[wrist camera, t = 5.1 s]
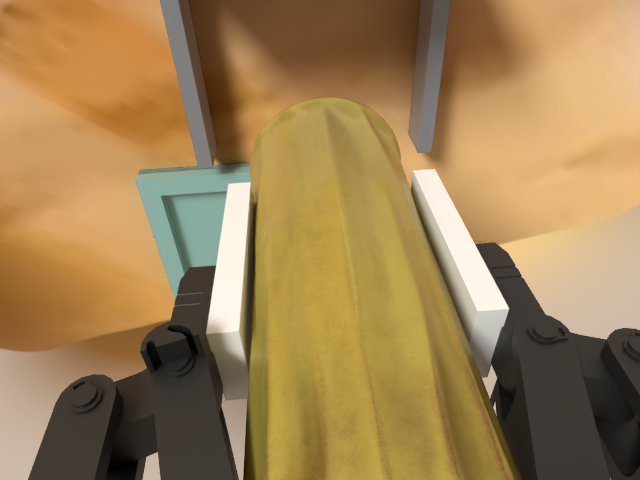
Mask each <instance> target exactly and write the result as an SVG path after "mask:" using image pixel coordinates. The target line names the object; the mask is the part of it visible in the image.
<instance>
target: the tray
mask: <svg viewBox="0 0 640 480" xmlns="http://www.w3.org/2000/svg"><path fill="white" fill-rule="evenodd" d="M135 181H136V184H137V187H138V190H139V193H140V196H141V199H142V202H143V205H144V208H145V211H146V214H147V217H148V220H149V223H150V226H151V229H152V232H153V235H154V238H155V241H156V244H157V247H158V250H159V253H160V256H161V259H162V262H163V265H164V268H165V271H166V274H167V277H168V280H169V283H170V286H171V289H172V292H173V295H174V298H175V300H176V296H177V291H178V287H179V283H180V279H181V278H182V277H183V276H184V274H185V273H186V272H187V270H188V269H189V268H190V267H202V266H215V265H216V264H217V257H218V251H219V244H220V237H221V230H222V224H223V217H224V210H225V204H226V197H227V190H228V184H232V183H246V182H251V177H250V163H238V164H223V165H213V167H205V168H198V166H194V167H179V168H164V169H150V170H140V171H139V173H138V175H137V178H136V180H135ZM251 188H252V182H251Z"/></svg>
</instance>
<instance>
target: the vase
mask: <svg viewBox="0 0 640 480" xmlns="http://www.w3.org/2000/svg"><path fill="white" fill-rule="evenodd" d="M250 177H251V182H252V194H253V201H254V219H253V305H252V339H251V352H250V367H249V384H248V400H247V418H246V438H245V458H244V476H243V480H523V479H522V476H521V474H520V472H519V469H518V467H517V464H516V462H515V460H514V457H513V455H512V453H511V450H510V448H509V445H508V443H507V441H506V438H505V436H504V433H503V431H502V429H501V426H500V424H499V421H498V419H497V416H496V414H495V411H494V409H493V406H492V404H491V401H490V399H489V396H488V393H487V391H486V388H485V385H484V383H483V380H482V377H481V375H480V372H479V369H478V367H477V364H476V361H475V358H474V356H473V353H472V350H471V348H470V345H469V342H468V340H467V337H466V335H465V332H464V330H463V327H462V324H461V322H460V319H459V316H458V314H457V311H456V308H455V306H454V303H453V300H452V298H451V295H450V293H449V290H448V287H447V285H446V282H445V280H444V277H443V275H442V272H441V269H440V267H439V264H438V262H437V259H436V257H435V255H434V252H433V250H432V248H431V245H430V243H429V240H428V238H427V235H426V232H425V230H424V227H423V224H422V221H421V218H420V215H419V212H418V209H417V206H416V204H415V201H414V198H413V196H412V193H411V190H410V187H409V184H408V181H407V178H406V175H405V173H404V170H403V167H402V164H401V154H400V149H399V146H398V142H397V140H396V137H395V135H394V133H393V131H392V129H391V128H390V127H389V125H388V124H387V123H386V122H385V120H384V119H383V118H382V117H380V116H379V115H378V114H377V113H376V112H374V111H373V110H372V109H370V108H368V107H367V106H365V105H363V104H360V103H358V102H355V101H352V100H347V99H343V98H335V97H321V98H314V99H310V100H306V101H303V102H300V103H298V104H295V105H293V106H291V107H288V108H286V109H285V110H283V111H281V112H280V113H278V114H277V115H276V116H275V117H274V118H273V119H271V120H270V121H269V123H268V124H267V125H266V126H265V127H264V128H263V129H262V131H261V132H260V133H259V135H258V137H257V139H256V141H255V143H254V147H253V150H252V153H251V159H250Z"/></svg>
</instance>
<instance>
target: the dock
mask: <svg viewBox="0 0 640 480" xmlns="http://www.w3.org/2000/svg"><path fill="white" fill-rule="evenodd" d="M160 3H161V7H162V12H163V16H164V20H165V25H166V29H167V33H168V38H169V42H170V46H171V51H172V55H173V59H174V64H175V68H176V72H177V77H178V81H179V85H180V90H181V94H182V98H183V103H184V107H185V111H186V116H187V120H188V124H189V129H190V133H191V137H192V142H193V146H194V151H195V155H196V159H197V164H198V168H205V167H213V164H214V159H215V155H216V150H217V144H216V139H215V134H214V128H213V123H212V118H211V113H210V108H209V103H208V98H207V93H206V88H205V82H204V77H203V72H202V67H201V62H200V57H199V52H198V47H197V41H196V36H195V31H194V26H193V21H192V16H191V11H190V6H189V1H188V0H160ZM450 3H451V0H420V12H419V23H418V34H417V45H416V56H415V67H414V79H413V90H412V101H411V112H410V123H409V136H410V138H411V140H412V142H413V144H414V146H415V148H416V150H417V152H418V153H425V152H432V145H433V137H434V129H435V121H436V113H437V105H438V97H439V90H440V82H441V74H442V66H443V58H444V50H445V42H446V34H447V26H448V19H449V11H450Z"/></svg>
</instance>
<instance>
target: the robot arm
mask: <svg viewBox="0 0 640 480" xmlns="http://www.w3.org/2000/svg"><path fill="white" fill-rule="evenodd" d="M411 193H412V196H413V198H414V201H415V204H416V206H417V209H418V212H419V215H420V218H421V221H422V224H423V227H424V230H425V232H426V235H427V238H428V240H429V243H430V245H431V248H432V250H433V252H434V255H435V257H436V259H437V262H438V264H439V267H440V269H441V272H442V275H443V277H444V280H445V282H446V285H447V287H448V290H449V293H450V295H451V298H452V300H453V303H454V306H455V308H456V311H457V314H458V316H459V319H460V322H461V324H462V327H463V330H464V332H465V335H466V337H467V340H468V342H469V345H470V348H471V350H472V353H473V356H474V358H475V361H476V364H477V367H478V369H479V372H480V375H481V377H487V376H488V373H489V370H490V367H491V364H492V366H493V369H494V371H495V373H496V376H497V381H496V383H495V386H494V389H493V392H492V395H491V398H490V401H491V404H492V406H494V403H495V402H496V412H497V419H498V421H499V424H500V426H501V429H502V431H503V433H504V436H505V438H506V441H507V443H508V445H509V448H510V450H511V453H512V455H513V457H514V460H515V462H516V464H517V467H518V469H519V472H520V474H521V476H522V479H523V480H610V478H611V480H640V330H637V329H630V328H622V329H618V330H615V331H614V332H612V333H611V334H610V335H609V337H608V339H607V340H606V339H600V338H593V337H589V336H582V335H578V334H574V333H571V332H570V331H569V330H568V328H567V327H566V326H564V325H563V324H562V323H561V322H560V321H558V320H556V319H554V318H553V317H551V316H547V315H546V314H545V313H544V311H543V310H542V308H541V307H540V305H539V303H538V302H537V300H536V298H535V297H534V295H533V294H532V292H531V290H530V288H529V287H528V285H527V284H526V282H525V280H524V279H523V278H522V277H521V274H520V272H519V270H518V269H517V268H516V267H515V264H514V262H513V261H512V259H511V258H510V256H509V254H508V253H507V252H506V251H505V250H503V249H502V248H501V247H500V246H498V245H497V244H496V243H484V244H474V242H473V240H472V238H471V236H470V234H469V232H468V230H467V229H466V227H465V225H464V223H463V221H462V219H461V217H460V215H459V214H458V212H457V210H456V208H455V206H454V204H453V202H452V200H451V199H450V197H449V195H448V193H447V191H446V189H445V187H444V185H443V184H442V182H441V180H440V178H439V176H438V174H437V172H436V170H435V169H427V170H413V176H412V186H411ZM253 219H254V201H253V194H252V188H251V182H246V183H232V184H228V190H227V197H226V204H225V210H224V217H223V224H222V230H221V237H220V244H219V251H218V257H217V264H216V265H215V266H202V267H190V268H189V269H188V270H187V272H186V273H185V274H184V276H183V277H182V278H181V279H180V283H179V287H178V291H177V296H176V300H175V307H174V309H173V313H172V317H171V321H170V322H167V323H165V324H162V325H160V326H158V327H156V328H155V329H153V330H152V331H151V332H150V333H148V334H147V336H146V337H145V339H144V340H143V342H142V345H141V351H140V352H141V354H142V357H143V359H144V361H145V364H146V366H147V369H145V370H144V371H142V372H140V373H137V374H135V375H132V376H130V377H127V378H124V379H122V380H119V381H116V382H113V380H112V379H111V378H109V377H107V376H105V375H95V374H94V375H90V376H86V377H82V378H81V379H79V380H77V381H75V382H73V383H72V384H70V385H69V386H68V387H67V388H66V389H65V390H64V391H63V392H62V393H61V395H60V397H59V399H58V400H57V402H56V404H55V407H54V409H53V412H52V415H51V418H50V420H49V423H48V426H47V429H46V431H45V434H44V437H43V440H42V442H41V445H40V448H39V451H38V454H37V456H36V459H35V462H34V465H33V467H32V470H31V473H30V475H29V479H28V480H142V478H143V473H144V467H145V461H146V457H147V456H149V455H151V454H154V453H156V452H158V457H159V466H160V476H161V480H239V479H238V474H237V470H236V465H235V462H234V457H233V452H232V449H231V444H230V439H229V435H228V431H227V426H226V422H225V418H224V414H223V411H222V407H221V403H222V393H224V396H225V399H226V400H234V399H245V398H248V384H249V367H250V352H251V339H252V305H253Z"/></svg>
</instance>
